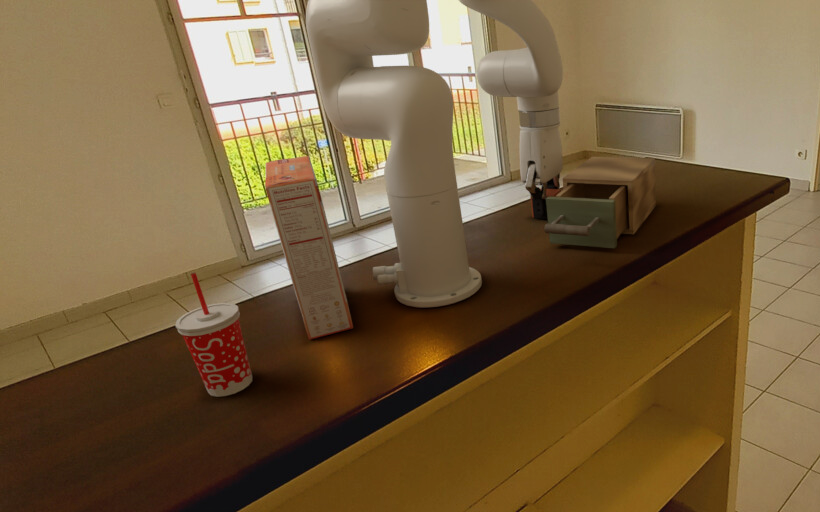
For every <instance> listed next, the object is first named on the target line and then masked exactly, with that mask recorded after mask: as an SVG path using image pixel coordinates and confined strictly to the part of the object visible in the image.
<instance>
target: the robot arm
mask: <svg viewBox="0 0 820 512" xmlns="http://www.w3.org/2000/svg"><path fill="white" fill-rule="evenodd" d="M427 1H428V0H307V4H306V9H305V27H306V33H307V39H308V44H309V48H310V54H311V57H312V62H313V66H314V71H315V75H316V80H317V84H318V89H319V93H320V98H321V103H322V105H323V108H324V111H325V114H326V116H327V118H328V121H329V122H330V123H331V125H332V127H334V128H335V130H336V131H338V132H339V133H340V134H341V135H343V136H345V137H348V138H352V139H357V140H377V141H379V140H380V141H388V142H390V148H389V151H388V154H387V157H386V161H385V164H384V168H383V178H384V180H383V181H384V186H385V192H386V196H387V201H388V206H389V211H390V216H391V221H392V227H393V232H394V237H395V242H396V247H397V251H398V252H397V253H398V258H399V262H395V263H394V265H389V266H387V265H381V266H380V265H379V266H373V267H372V277H373V279H374V281H376V280H377V284H378V285H388V284H395V286H394V288H393V289H394V295H395V298H396V300H397V301H398V302H399V303H401V304H402V305H405V306H407V307H412V308H421V309H423V308H428V309H429V308H438V307H444V306H449V305H452V304H456V303H459V302H461V301H464V300H466V299H468V298H470V297H472V296H473V295H474V294H476V293H477V292H478V291H479V290H480V289H481V287H482V284H483V279H482V275H481V272H479V271H478V270H477V269H475V268H474V267H470V265H469V256H468V250H467V242H466V236H465V230H464V223H463V216H462V209H461V201H460V194H459V189H458V188H459V187H458V181H457V175H456V174H457V173H456V168H455V158H454V148H453V129H454V128H453V126H454V125H453V124H454V97H453V92H452V90H451V87H450V86H449V84H448V82H447V81H446V79H445V78H444V77H443V76H442V75H440V74H439V73H438V72H436V71H435V70H433V69H430V68H427V67H424V66H418V65H381V66H375V65H374V59H373V58H374V57H373V56H376V57H377V56H378V57H379V56H397V55H406V54H411V53H415V52H417V51H419V50H420V49H422V48H423V47H424V46H425V45H426V44H427V42H428V40H429V36H430V17H429V16H430V15H429V9H428V2H427ZM458 2H459V3H461V5H463V6H465V7H467V8H469V9H470V10H473V11H475V12H477V13H479V14H481V15H484V16H486V17H488V18H491V19H493V20H494V21H497V22H499V23H500V24H503V25H504V26H506V27H507V28H509V29H510V30H512V31H513V32H514V33H516V35H517V36H518V37H519V38H520V39H521V41H522V42H523V43H524V45H525V46H526V47H522V48H518V49H517V48H516V49H506V50H505V49H504V50H500V49H499V50H493V51H490V52H489V53H487V54H485V55H484V56H483V57H482V58H481V59H480V60H479V62H478V64H477V68H476V80H477V82H478V85H479V86H480V88H481V89H482V91H484V93H486V94H488V95H490V96H493V97H498V98H516V104H517V114H518V126H519V140H518V141H519V145H518V146H519V147H518V149H519V150H518V151H519V172H520V180H521V182H522V183H524V184H525V190H526V191H527V192H528V193H529V194H530V195H531V198H530V200H531V199H532V205H533V215H534V217H533V218H534V219H540V220H541V219H542V220H543V219H544V220H548V216H547V205H546V191H547V189H560V188H561V185H560V178H561V172H562V171H563V169H564V168H563V166H564V165H563V164H564V163H563V162H564V161H563V159H564V157H563V149H562V140H561V133H560V127H561V125H562V124H561V112H560V111H561V110H560V99H559V90H560V88H561V86H562V83H563V79H564V67H563V61H562V56H561V52H560V48H559V44H558V41H557V38H556V35H555V32H554V29H553V26H552V25H551V23H550V21H549V19H548V18H547V16H546V15H545V13H544V12H543V11H542V10H541V9H540V7H539V6H538V5H537V4H536V3H535V2H534V1H533V0H458ZM536 180H539V181H536ZM539 186H541V187H539ZM540 189H541V190H540Z"/></svg>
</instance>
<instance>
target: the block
mask: <svg viewBox="0 0 820 512" xmlns="http://www.w3.org/2000/svg"><path fill="white" fill-rule="evenodd" d="M540 190H541V188H540ZM561 191H562V189H560V188H559V189H547V191H546V198H548V197H556V195H557V194H559V193H560V192H561ZM529 198H530V206H531V217H532V218H534V215H533V205H532V199H531V194H530V197H529Z"/></svg>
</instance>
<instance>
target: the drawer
mask: <svg viewBox="0 0 820 512" xmlns="http://www.w3.org/2000/svg"><path fill="white" fill-rule="evenodd" d="M546 205H547V216H548V219H547V223H545V225H544V233H545V234H548V237H549V244H555V245H567V246H580V247H581V246H582V247H591V248H604V249H616V248H617V247H618V238H619V237H620V236H621V235H622V234H621V233H622V232H623V231H624V230H625V228H626V227H627V226H628V225H629V207H628V185H609V184H585V183H571V184H570V185H569V186H568V187H566V188H565V189H564V190H563V189H561V192H560V193H559V194H557V195H556V197H548V198H546Z"/></svg>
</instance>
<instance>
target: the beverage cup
mask: <svg viewBox="0 0 820 512" xmlns="http://www.w3.org/2000/svg"><path fill="white" fill-rule="evenodd" d="M190 277H191V279H192V282H193V285H194V289H195V291H196V295H197V297H198V300H199V303H200V307H197V308H195V309H192V310H189V311H187V312H186V313H184V314H182V315H181V316H180V317H179V318H178V319H176V320H175V324H174V326H175V329H176V330H177V333H179V334H180V335H181V336H182V338H183V340H184V342H185V344H186V347H187V349H188V351H189V353H190V355H191V358H192V360H193V362H194V364H195V366H196V369H197V371H198V373H199V375H200V378H201V380H202V382H203V384H204V387H205V389H206V391H207V394H209V395H210V396H211V397H217V398H219V397H227V396H231V395H234V394H237V393H239V392H241V391H243V390H244V389H246V388H248V387H249V386H250V384H252V382H253V374H252V370H251V369H252V368H251V365H250V362H249V357H248V352H247V347H246V344H245V339H244V335H243V331H242V326H241V322H240V318H241V317H240V316H241V313H240V308H239V306H238V305H237V304H235V303H231V302H218V303H217V302H216V303H211V304H207V303H206V300H205V296H204V293H203V290H202V288H201V284H200V281H199V279H198V275H197V273H196V272H191V273H190Z"/></svg>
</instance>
